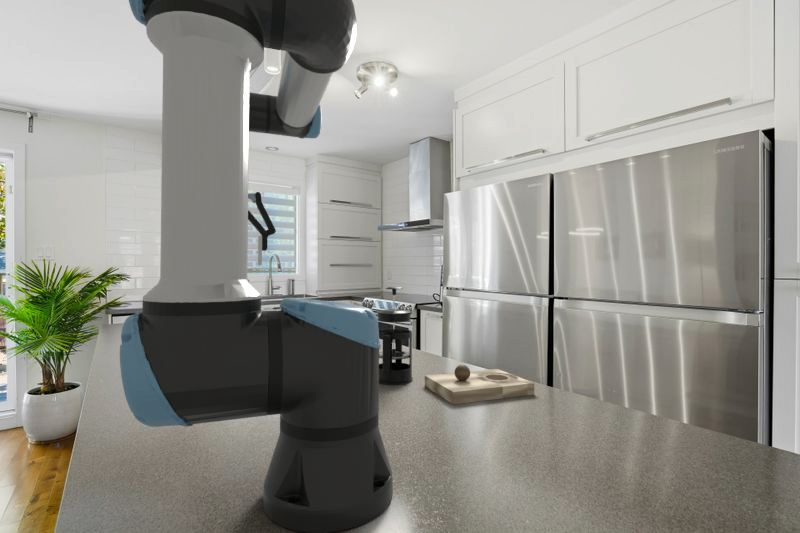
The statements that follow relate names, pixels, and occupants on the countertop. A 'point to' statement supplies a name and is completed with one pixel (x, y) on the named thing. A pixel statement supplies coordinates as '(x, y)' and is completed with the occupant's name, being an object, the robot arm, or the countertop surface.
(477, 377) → the cutting board
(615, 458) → the countertop surface
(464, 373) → the ball
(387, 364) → the french press
